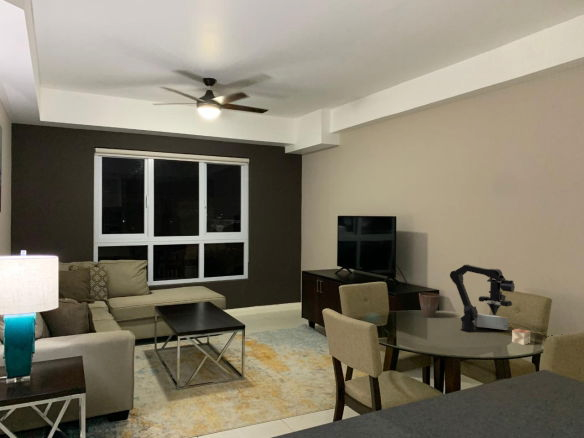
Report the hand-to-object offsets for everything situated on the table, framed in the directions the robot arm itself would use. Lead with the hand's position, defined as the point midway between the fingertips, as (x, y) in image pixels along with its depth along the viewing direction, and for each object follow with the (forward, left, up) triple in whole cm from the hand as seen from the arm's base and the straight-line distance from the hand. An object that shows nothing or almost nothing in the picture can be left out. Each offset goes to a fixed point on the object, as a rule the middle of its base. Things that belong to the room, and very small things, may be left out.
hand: (494, 315), depth 275 cm
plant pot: (-54, +7, -13) cm, 56 cm away
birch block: (+16, +2, -6) cm, 17 cm away
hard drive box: (-6, +21, -8) cm, 24 cm away
